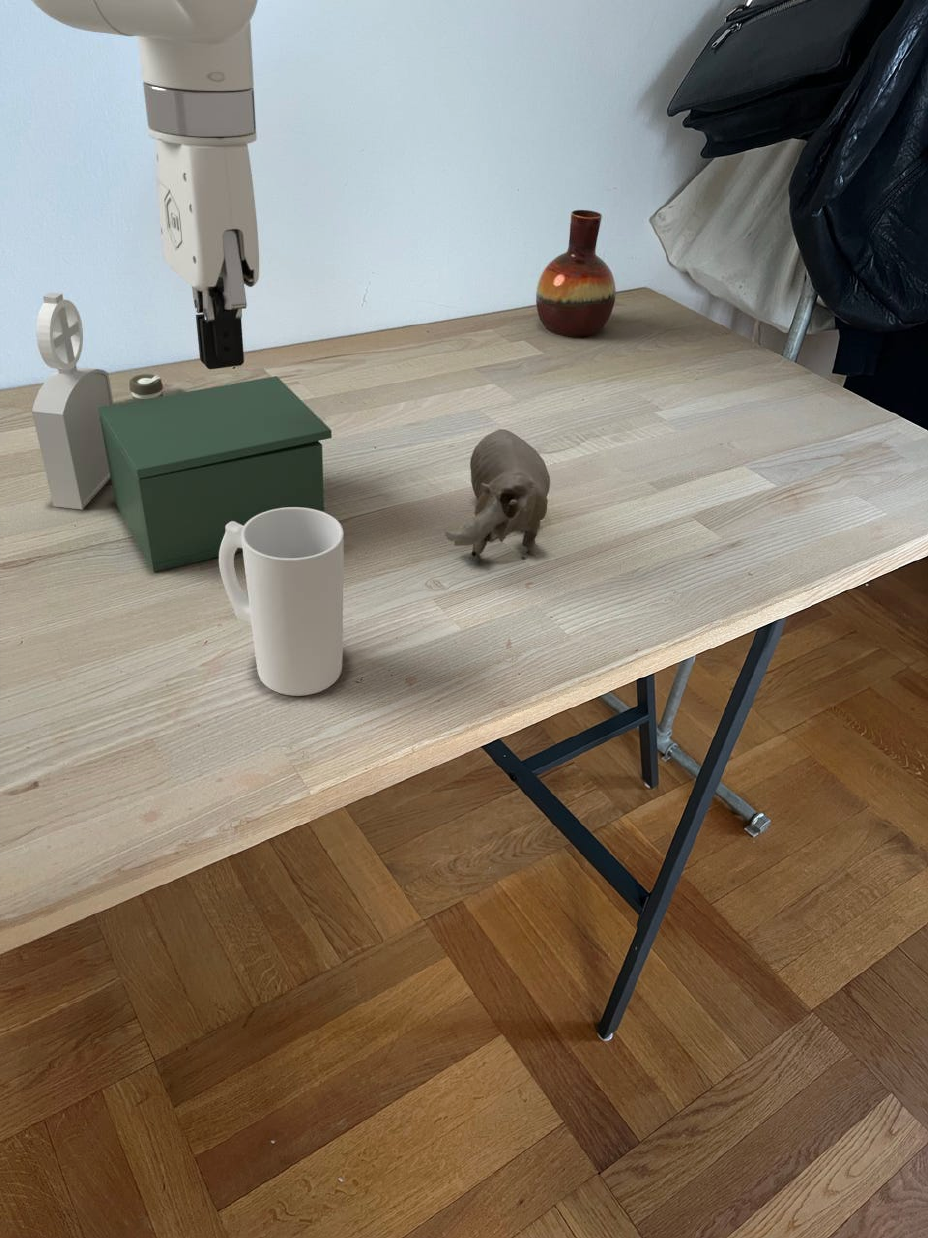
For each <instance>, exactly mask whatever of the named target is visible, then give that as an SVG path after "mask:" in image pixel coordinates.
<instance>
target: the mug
mask: <svg viewBox="0 0 928 1238" xmlns="http://www.w3.org/2000/svg"><path fill="white" fill-rule="evenodd" d="M225 528H226V532H225V535H224V537H223V540H222V543H221V546H220V551H219V557H218V566H219V573H220V577H221V581H222V584H223V587H224V589H225V592H226V595H227V598H228V599H229V602H230V604H231V606H232V610H233V613H234V615H235V617H236V618H237V620H239V621H241V622H244V623H246V624H249V625H250V626H251V629H252V630H251V631H252V638H253V639H252V640H253V647H254V648H253V650H254V656H255V663H256V669H257V674H258V677H259V679H260V681H261V682H262V684H263V685H265V686H266V688H268V689H269V690H272V691H273V692H275V693H278V694H281V695H286V696H293V697H303V696H310V695H314V694H317V693H320V692H323V691H325V690H327V689H328V688H330V687H331V686H332V685H334V684H335V683H336V682H337V681H338V679H339V678H340V677H341V674H342V671H343V658H344V657H343V654H344V567H345V566H344V565H345V564H344V563H345V561H344V558H345V555H344V554H345V553H344V552H345V551H344V550H345V549H344V547H345V546H344V536H345V535H344V534H345V533H344V527H343V526H342V524H341V523H340V521H339V520H337V519H336V518H335V517H334V516H332V515H330V514H329V513H327V512H325V511H324V512H322V511H319V510H315V509H310V508H302V507H287V508H278V509H273V510H269V511H266V512H263V513H261V514H258V515H256V516H254V517H253V518H251V519H250V520H249V521H248V522H247V523H246V524H245V525H244V526H243V525H241V524H238V523H237V522H235V521H231V522H229V523H228V524H227V525H226V527H225ZM237 548H242V549H243V551H242V556H243V565H244V573H245V581H246V587H247V588H246V589H247V590H246V591H247V594H246V592H245V590H244V589H243V588H242V586H241V584H240V582H239V580H238V577H237V573H236V570H235V569H236V568H235V562H234V561H235V554H236V553H235V552H236V550H237Z"/></svg>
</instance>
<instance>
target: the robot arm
mask: <svg viewBox="0 0 928 1238" xmlns="http://www.w3.org/2000/svg"><path fill="white" fill-rule="evenodd" d="M258 1H259V0H31V2H32V3H33V4H34V5H35V6H36V7H37V8H39V9H40V10H41V11H42V12H43V13H45V14H46V16H49V17H50V18H52V19H54V20H55V21H57V22H58V23H60V24H63V25H65V26H68V27H70V28H73V29H76V30H77V29H78V30H81V31H84V32H85V31H86V32H92V33H98V34H100V33H101V34H108V35H116V36H125V37H137V41H138V48H139V58H140V59H139V60H140V68H141V75H142V86H143V95H144V103H145V112H146V120H147V128H148V135H149V137H151V138H152V139H154V140H156V176H157V177H156V178H157V192H158V193H157V194H158V207H159V208H158V209H159V221H160V237H161V246H162V248H161V249H162V254H163V257H164V260H165V261H166V263H167V264H168V265H169V266H170V268H172V269H173V271H175V272H176V273H177V274H178V275H179V277H181V278H182V279H183V280H184V281H186V283H188V284H189V285H190V286H191V289H192V299H193V305H194V309H195V312H196V313H197V314H195V322H196V333H197V341H198V353H199V360H200V362H201V363H202V364H203V365H204V366H205V367H206V368H207V369H208V370H216V369H217V370H218V369H225V368H232V367H240V366H242V365H243V364H244V363H245V354H244V352H245V351H244V339H243V338H244V337H243V326H242V323H243V322H242V317H243V310H244V309H247V306H248V303H247V295H246V289H245V286H247V287H248V288H252V287H254V286H255V285H256V284H257V283H258V282H259V279H260V245H259V233H258V232H259V231H258V219H257V207H256V199H255V190H254V189H255V188H254V181H253V174H252V166H251V165H252V164H251V159H250V152H249V151H250V150H249V145H248V144H252V143H254V142H256V141H257V140H258V136H257V121H256V102H255V99H256V98H255V88H254V87H255V84H254V83H255V81H254V80H255V79H254V65H253V63H254V61H253V45H252V26H251V25H252V24H251V20H252V19H253V16H254V14H255V11H256V9H257V5H258Z"/></svg>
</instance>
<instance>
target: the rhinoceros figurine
mask: <svg viewBox="0 0 928 1238" xmlns="http://www.w3.org/2000/svg"><path fill="white" fill-rule="evenodd" d="M469 467H470V483H471V487H472V491H473V493H474V495H475V499H476V500H477V502H476V504H475V507H474V512H473V513H474V516H473V517H471V518H469V519H467V520H466V522H465V524H464V525H463V527H462V528H461V530H458V531H457V532H450V531H448V530H447V529H445V530H444V536H445V537H446V539H447V540H448V541H450V542H454V546H455V547H456V546H457V547H459V546H463V547H464V546H467V547H468V546H472V550H471V553H470V556H471V557H468V560H469V561H471V563H472V564H473V565H476V566H483V567H484V566H486V562H485V561H484V560H483V559H482V557H481V554H482V553H483V552H484V551H485V549H486V547H487V544H488V543H494V542H495V541H497V540H499V542H500V543H503V542H504V540H505V539H506V537H507V536H509V535H511V534H512V533H514V532H518V531H521V532H524V533H523V536H522V542H521V546H522V547H525V548H526V549H527V551H524V553H525V554H527V555H531V556H540V549H539V547H538V546H537V543H536V538H537V536H538V532H539V530H540V527H541V521H543V520H544V519H545V518H546V515H547V513H548V502H549V499H548V494H549V492H550V488H551V477H550V474H549V473H550V472H549V470H548V468H547V464H546V463H545V460H544V458H542V456H541V455H540V453H539V452H538V451H537V450H536V449H535V448H533V446H532V445H531V444H529V443H528V442H526V441H525V440H524V439H523V438H521V437H520V436H518V435H517V434H515V433H514V432H512V431H510V430H508V429H503V428H498V429H497V430H494V431H492V432H490V433H489V434H487V435H485V436H484V437H483V438H482V439H481V440H480V441H479V442H478V443H477V445H476V446H475V447H474V449H473V450H472V453H471V457H470V464H469Z"/></svg>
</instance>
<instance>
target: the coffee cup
mask: <svg viewBox="0 0 928 1238" xmlns="http://www.w3.org/2000/svg"><path fill="white" fill-rule="evenodd" d="M128 384H129V386H128V387H129V391H130V392H131V396H132V400H133V401H137V400H143V399H149V398H155V397H160V396H164V395H163V389H164V386H163V382H162V378H161V377H160V376H159V375H158V374H152V373H151V374H150V373H143V374H137V375H134V376H133V377H131V378H130V379H129V383H128Z"/></svg>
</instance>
